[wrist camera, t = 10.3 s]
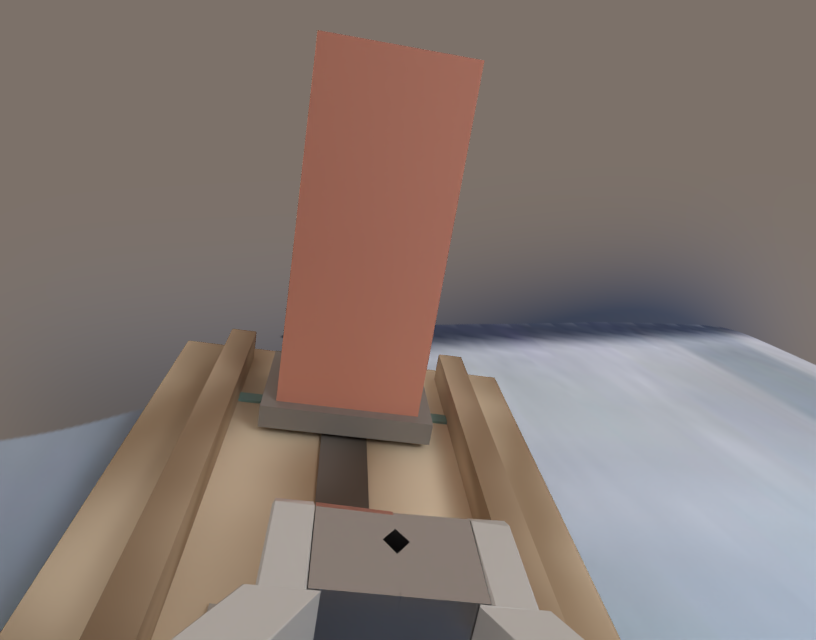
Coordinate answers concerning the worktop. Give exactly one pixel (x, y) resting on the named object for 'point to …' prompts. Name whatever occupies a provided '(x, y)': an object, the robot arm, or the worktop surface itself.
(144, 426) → the tan flat ridged board
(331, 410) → the salmon orange rectangular block
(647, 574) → the worktop surface
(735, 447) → the worktop surface
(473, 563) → the robot arm
